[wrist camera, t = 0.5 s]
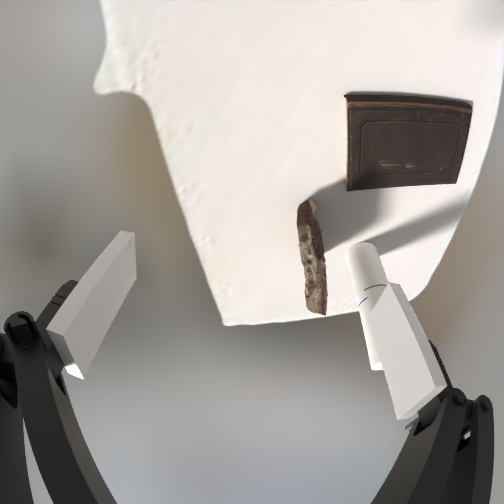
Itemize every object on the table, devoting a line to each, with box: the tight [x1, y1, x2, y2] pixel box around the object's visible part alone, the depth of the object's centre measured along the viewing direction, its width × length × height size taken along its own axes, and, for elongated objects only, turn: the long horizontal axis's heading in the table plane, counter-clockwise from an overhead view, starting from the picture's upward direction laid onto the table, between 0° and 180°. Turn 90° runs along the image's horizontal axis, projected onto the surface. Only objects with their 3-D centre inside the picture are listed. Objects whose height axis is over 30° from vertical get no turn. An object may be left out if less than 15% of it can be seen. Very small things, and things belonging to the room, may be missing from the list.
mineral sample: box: [297, 198, 328, 315], centre depth 47 cm, size 17×4×15 cm, turn 12°
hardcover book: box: [344, 95, 472, 191], centre depth 36 cm, size 16×23×2 cm
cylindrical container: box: [345, 242, 388, 370], centre depth 49 cm, size 7×7×25 cm
